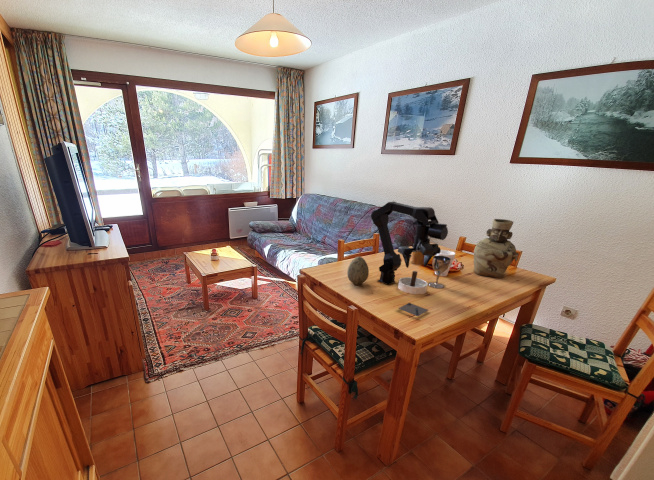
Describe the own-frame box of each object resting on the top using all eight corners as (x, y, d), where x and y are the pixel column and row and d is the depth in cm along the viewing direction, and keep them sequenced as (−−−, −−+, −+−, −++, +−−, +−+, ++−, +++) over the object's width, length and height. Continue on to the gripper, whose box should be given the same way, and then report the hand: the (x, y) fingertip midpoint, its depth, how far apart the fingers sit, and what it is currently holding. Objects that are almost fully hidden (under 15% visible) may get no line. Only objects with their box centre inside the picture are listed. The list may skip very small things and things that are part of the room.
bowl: (392, 290, 155) (393, 281, 153) (406, 283, 163) (408, 275, 161) (417, 299, 146) (418, 289, 144) (431, 292, 153) (432, 282, 151)
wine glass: (446, 289, 157) (452, 261, 151) (429, 287, 158) (435, 260, 152) (442, 282, 164) (448, 256, 158) (426, 281, 165) (431, 255, 160)
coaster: (397, 311, 135) (398, 308, 134) (408, 305, 140) (409, 302, 139) (417, 319, 128) (417, 316, 128) (428, 313, 133) (428, 309, 133)
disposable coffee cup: (428, 266, 188) (432, 247, 184) (412, 265, 188) (416, 247, 184) (421, 260, 197) (425, 242, 192) (407, 260, 197) (410, 242, 193)
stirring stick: (406, 290, 154) (409, 271, 150) (410, 288, 156) (413, 269, 152) (413, 292, 152) (416, 273, 148) (416, 290, 154) (420, 271, 150)
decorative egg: (342, 281, 166) (345, 254, 160) (361, 279, 169) (363, 253, 163) (352, 289, 157) (354, 261, 151) (371, 286, 159) (374, 259, 153)
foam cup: (432, 275, 173) (436, 253, 168) (431, 270, 181) (435, 249, 176) (451, 278, 170) (456, 255, 165) (449, 272, 178) (454, 251, 173)
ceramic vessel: (499, 282, 164) (516, 226, 153) (462, 270, 182) (474, 219, 170) (519, 276, 173) (536, 223, 161) (481, 265, 190) (494, 216, 178)
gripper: (412, 240, 134) (406, 273, 140) (451, 239, 137) (444, 271, 143) (399, 234, 145) (394, 265, 151) (436, 233, 147) (430, 263, 153)
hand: (416, 266), depth 149 cm, fingers open, 9 cm apart
